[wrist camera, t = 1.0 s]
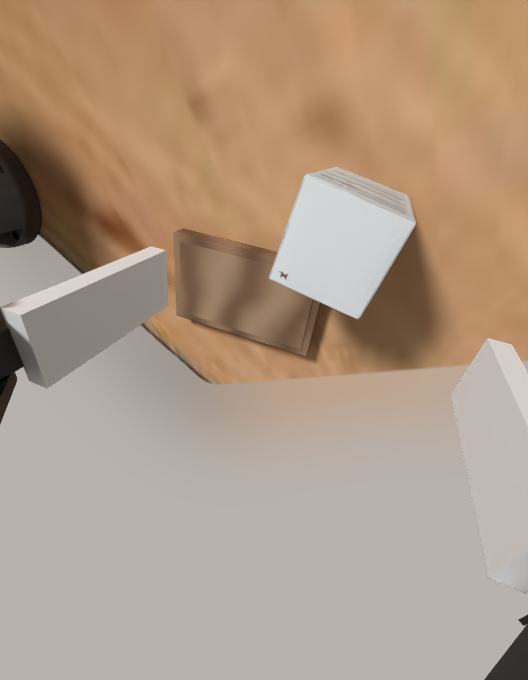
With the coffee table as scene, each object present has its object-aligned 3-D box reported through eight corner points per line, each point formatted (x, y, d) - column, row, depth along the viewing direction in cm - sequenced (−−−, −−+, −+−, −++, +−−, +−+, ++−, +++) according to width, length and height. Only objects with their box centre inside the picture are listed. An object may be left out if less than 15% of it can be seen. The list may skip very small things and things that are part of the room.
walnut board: (184, 309, 43) (176, 315, 42) (183, 228, 37) (173, 232, 35) (309, 347, 39) (305, 356, 38) (331, 265, 33) (327, 271, 31)
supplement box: (370, 268, 32) (357, 324, 22) (304, 238, 33) (263, 279, 23) (412, 194, 28) (421, 223, 17) (335, 162, 28) (302, 171, 18)
